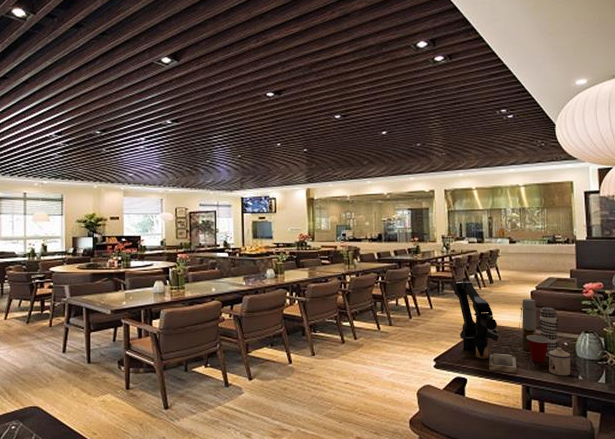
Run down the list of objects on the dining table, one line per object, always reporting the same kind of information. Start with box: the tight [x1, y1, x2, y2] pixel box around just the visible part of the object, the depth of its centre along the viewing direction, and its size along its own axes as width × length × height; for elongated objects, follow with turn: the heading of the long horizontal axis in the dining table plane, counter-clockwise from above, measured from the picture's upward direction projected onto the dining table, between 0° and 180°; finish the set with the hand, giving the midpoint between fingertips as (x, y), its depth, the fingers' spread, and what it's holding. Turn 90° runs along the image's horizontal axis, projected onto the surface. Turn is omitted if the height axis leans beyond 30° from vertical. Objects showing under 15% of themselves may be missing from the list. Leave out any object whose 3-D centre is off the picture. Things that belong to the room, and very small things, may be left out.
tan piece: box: [488, 353, 518, 374], centre depth 217 cm, size 12×18×2 cm
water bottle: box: [518, 298, 537, 335], centre depth 261 cm, size 9×8×25 cm
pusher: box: [492, 352, 513, 367], centre depth 217 cm, size 8×3×5 cm, turn 66°
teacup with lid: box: [548, 347, 571, 376], centre depth 205 cm, size 12×9×12 cm
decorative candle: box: [538, 306, 559, 357], centre depth 235 cm, size 9×9×25 cm
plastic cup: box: [527, 334, 550, 364], centre depth 224 cm, size 11×11×12 cm
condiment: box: [518, 328, 534, 354], centre depth 242 cm, size 7×8×12 cm
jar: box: [475, 345, 489, 359], centre depth 231 cm, size 6×6×6 cm
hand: (481, 354), depth 231 cm, fingers closed on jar, 6 cm apart
